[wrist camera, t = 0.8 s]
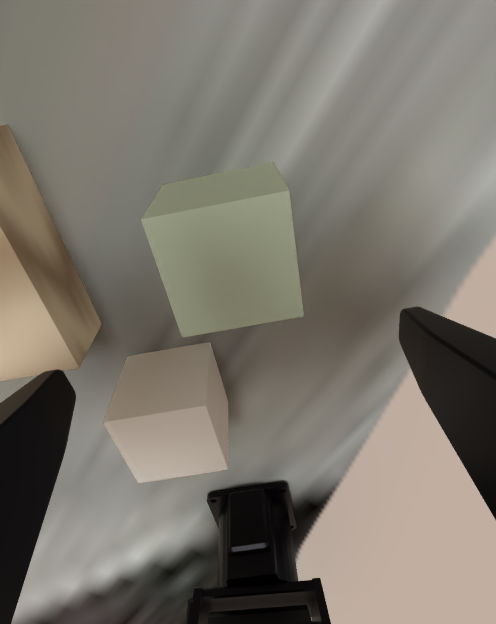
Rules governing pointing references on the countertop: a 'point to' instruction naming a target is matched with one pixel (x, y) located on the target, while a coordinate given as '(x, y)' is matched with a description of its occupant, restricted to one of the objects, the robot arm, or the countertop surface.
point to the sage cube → (226, 249)
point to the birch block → (36, 280)
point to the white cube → (170, 414)
